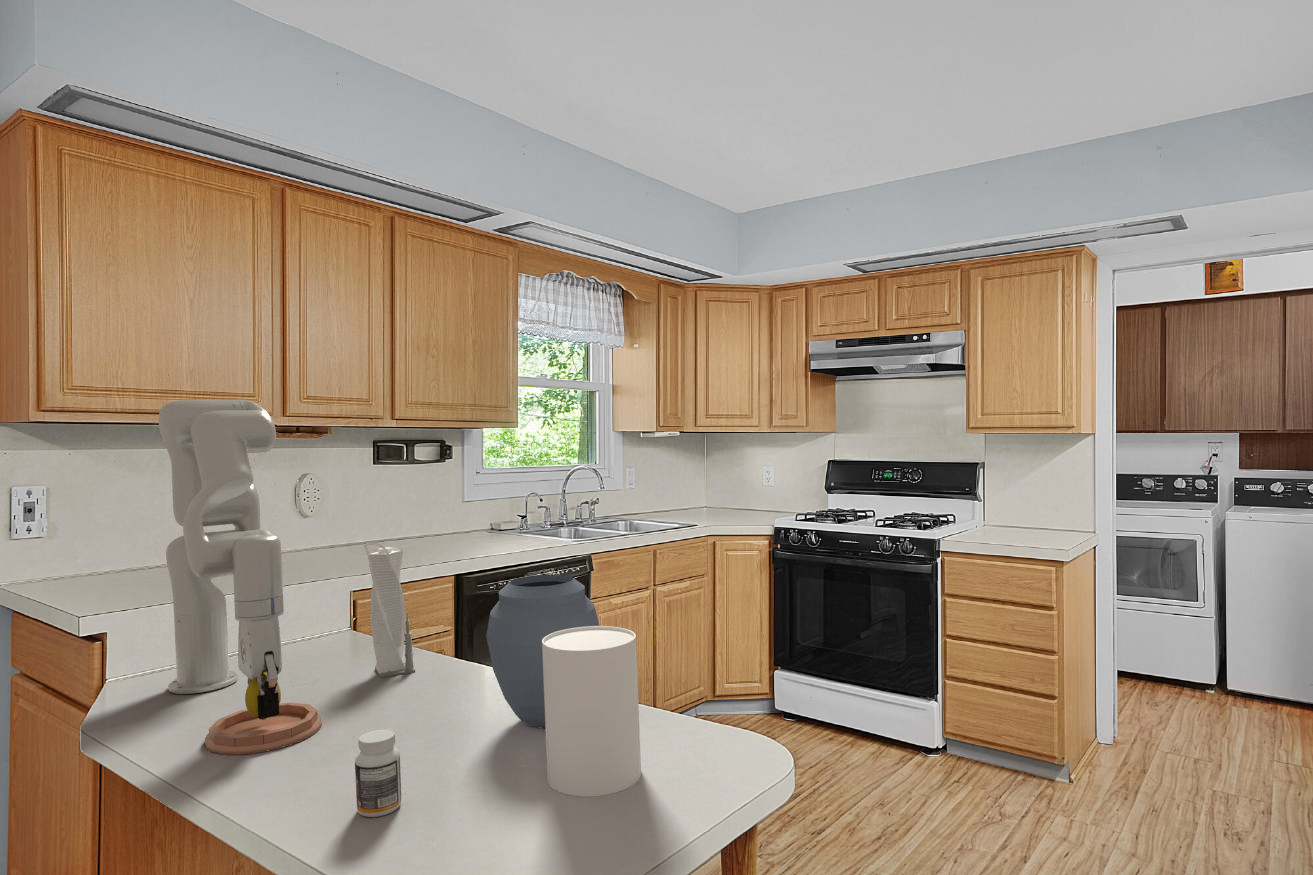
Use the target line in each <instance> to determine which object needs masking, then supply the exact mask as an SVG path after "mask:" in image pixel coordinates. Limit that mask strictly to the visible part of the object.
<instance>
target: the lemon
mask: <svg viewBox="0 0 1313 875" xmlns="http://www.w3.org/2000/svg"><path fill="white" fill-rule="evenodd" d="M264 675H265V674H262V673H261V676H264ZM265 681H267V679H265V680H263V686H264V683H265ZM277 683H278V696H279V704H280V703H281V701H282V700H281V699H282V692H281V688H280V685H279V682H278V681H277ZM257 695H259V688H258V680H257V677H256V678H255V680H252V681H251V682H250V683H249V685H248V684H247V686H246V691H245V695H244V702H245V707H246V709H247V710H248V711H249V713H250V714H251V715H253V716H255V717H258V704H257ZM266 719H267V718H265V719H261V720H266Z"/></svg>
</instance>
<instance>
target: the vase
mask: <svg viewBox="0 0 1313 875" xmlns="http://www.w3.org/2000/svg"><path fill="white" fill-rule="evenodd" d="M585 589H586V586H585V585H584V584H582V583H581V582H580V581H578V580H577V579H575V578H574V577H573V576H570V575H565V574H538V575H537V574H534V575H527V576H521V577H518V578H515V579H511V580H510V581H509V582H508V583H507V584H506V585H505V586H504V587H503V588H501V589H500V590H499V591H498V599H499V600H498V601H497V603H496V604H495V605H494V606H493V608H492V609H491V610H490V613H489V618H488V623H487V631H486V635H485V636H486V641H487V642H486V643H487V647H488V651H489V656H490V661H491V666H492V671H493V673H494V676H495V678H496V681H497V683H498V686H499V688H500V690H501V692H502V693H501V694H502V695H503V698H504V700H505V701H506V703H507V705H508V706H509V707H510V709H511V710H512V712H513V713H514V714H515V716H516V717H517V718H518V719H519V721H521V722H522V723H523V724H525V725H527V726H529V727H532V728H538V729H546V726H545V702H544V677H543V652H542V640H543V638H544V637H546V636H547V635H549V634H551V633H554V632H557V631H561V630H565V629H570V628H577V627H588V626H601V625H600V622H599V618H598V614H597V609H596V606H595V604H594V602H592V600H590V599H589V598H588V597H587V595H586V590H585Z"/></svg>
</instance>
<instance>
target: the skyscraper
mask: <svg viewBox="0 0 1313 875" xmlns="http://www.w3.org/2000/svg"><path fill="white" fill-rule="evenodd" d="M368 546H377V547H379V548H378V549H377V551H376V552H372V553H369V549H368ZM364 549H365V552H366V555H367V560H368V565H369V570H370V574H371V581H372V587H371V591H370V592H371V593H370V594H371V595H370V607H369V608H370V609H369V610H370V613H369V614H370V628H371V637H372V642H373V643H372V644H373V649H374V654H375V655H374V656H375V660H376V663H375V666H374V670H375V672H376V674H377V675H378V676H379V677H380V678H381V679H383V678H389V677H396V676H399V675H404V674H412V673H415V672H416V669H415V666H414V660H413V659H414V658H413V657H414V651H413V641H412V636H413V635H412V634H413V632H411V629H410V623H411V622H410V621H411V620H409V612H406V605H405V604H406V603H405V597H404V596H405V595H404V591H403V588H402V584H401V581H400V577H401V569H402V562H403V552H404V550H403V548H402V547H399V546H383V545H382V544H380V543H378V542H366V543H365V544H364ZM404 645H405V646H404ZM404 647H405V648H404ZM403 655H404V657H405V658H404V659H405V662H403Z"/></svg>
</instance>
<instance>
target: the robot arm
mask: <svg viewBox="0 0 1313 875" xmlns="http://www.w3.org/2000/svg"><path fill="white" fill-rule="evenodd" d="M158 425H159V432H160V436H161V439H162V441H163V443H164V447H165V449H166V451H167V453H168V455H169V458H170V463H171V481H172V482H171V487H172V488H171V489H172V490H171V492H172V507H173V508H172V509H173V516H174V518H175V519H174V520H175V521H176V523H177V524H178V525H179V526H181V527H182V528H183V529H182V532H183V533H182V535H181V536H178V537H175V539H173V540H172V541H170V542H169V544H168V545H167V547H166V550H165V558H166V559H165V560H166V565H167V569H168V573H169V579H170V584H171V591H172V602H173V622H174V642H175V643H174V644H175V645H174V646H175V665H176V668H175V669H176V679H174V680H172V681H171V682H170V683H169V684H168V686H167V687H168V691H169V692H170V693H172V694H177V695H190V694H199V693H201V694H202V693H205V692H211V691H215V690H219V689H222V688H225V687H228V686H230V685H232V684H234V683H235V682H236V681H238V678H239V677H238V673H237V672H236V671H233V670H230V663H229V662H230V661H229V660H230V659H229V638H228V637H229V636H228V634H229V633H228V617H227V615H228V614H227V600H226V596H225V594H224V593H223V591H222V590H221V589H220V588H219V587H218V586H217V585H215V584H214V583H213V582H212V579H215V578H221V577H225V576H233V593H234V594H233V596H234V602H233V603H234V604H233V605H234V619H235V620H236V621H237V622H238V636H237V637H238V640H237V641H238V643H237V644H238V645H237V646H238V649H237V651H238V652H237V653H238V654H237V658H238V660H237V662H238V666H237V667H238V669H239V671H240V672H241V673H242V674H243V675H245V676H246V677H247V686H248V685H249V683H250V682H251V681H252V680H255V678H256V677H257V680H258V688H259V695H257V704H258V718H259V719H265V718H269V717H273V716H277V715H278V714H279V696H278V684H279V682H278V681H279V676H278V675H279V674H280V673H281V672H282V667H283V666H282V664H283V663H282V642H281V641H282V640H281V632H280V629H281V628H280V620H279V617H280V616H282V615H283V614H284V612H285V611H284V610H285V608H284V590H283V589H284V588H283V585H284V584H283V567H282V566H283V562H282V544H281V540H280V537H278V536H277V535H276V534H275V535H274V534H273V533H272V532H271V531H269V530H267V529H261V507H260V506H261V505H260V496H259V492H258V490H257V487H256V486H255V484H254V476H253V475H254V474H253V470H252V467H251V462H250V458H249V455H248V454H258V453H267V452H270V451H271V450H272V449H274V446H275V444H276V441H277V432H276V426H275V423H274V420H273V418H272V417H271V415H270V414H269V413H268V411H267V410H265V409H264V408H263V407H262V406H261V405H259V404H257V403H256V402H254V401H252V400H250V399H249V400H248V399H212V398H211V399H207V398H206V399H205V398H204V399H203V398H202V399H181V400H173V401H169V402H167V403H165V404H164V405H163V406H161V408H160V410H159V414H158ZM223 525H233V527H234V529H228V530H221V531H220V530H219V531H218V530H217V531H209V532H207V531H206V532H205V530H204V527H205V528H206V527H215V526H223ZM261 674H265V675H264V676H261ZM265 679H267V681H265V683H264V686H263V680H265ZM277 682H278V683H277Z"/></svg>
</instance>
